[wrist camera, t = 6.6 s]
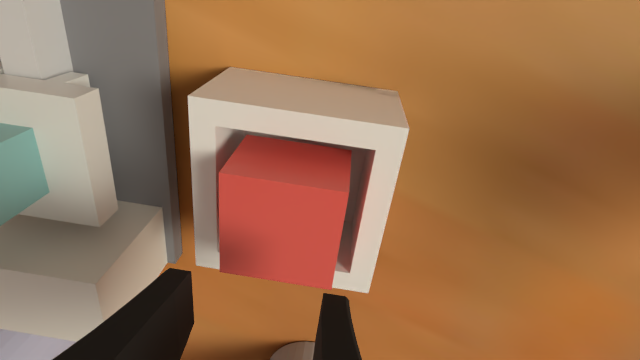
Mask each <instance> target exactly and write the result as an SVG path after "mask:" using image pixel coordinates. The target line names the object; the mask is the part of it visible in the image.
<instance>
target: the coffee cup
mask: <svg viewBox="0 0 640 360" xmlns="http://www.w3.org/2000/svg"><path fill="white" fill-rule="evenodd" d="M314 347H315V342H308V341H302V342H295V343H291V344H288V345H285V346H283V347H282V348H280V349H278V350H277V351H276V352H275V353H274V354H273V355H272V357H271V358H270V360H313V354H314Z"/></svg>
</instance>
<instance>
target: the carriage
mask: <svg viewBox="0 0 640 360" xmlns="http://www.w3.org/2000/svg"><path fill="white" fill-rule="evenodd" d="M117 210H118V204H117V198H116V192H115V186H114V180H113V174H112V167H111V161H110V155H109V149H108V143H107V137H106V131H105V125H104V119H103V113H102V106H101V100H100V94H99V88H93V87H90V83H89V78H88V74H82V73H75V72H69V73H66V74H62V75H59V76H56V77H53V78H50V79H47V80H39V79H33V78H26V77H19V76H13V75H6V74H5V73H4V70H3V66H2V63H1V62H0V226H1V225H3V224H4V223H6V222H7V221H8V220H10V219H11V218H13V217H14V216H16V215H17V214H20V215H26V216H33V217H39V218H45V219H51V220H58V221H64V222H70V223H76V224H83V225H89V226H95V227H100V226H101V225H103V224H104V223H105V222H106V221H107V220H108V219H109V218H110V217H111V216H112V215H113V214H114V213H115V212H116V211H117Z"/></svg>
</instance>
